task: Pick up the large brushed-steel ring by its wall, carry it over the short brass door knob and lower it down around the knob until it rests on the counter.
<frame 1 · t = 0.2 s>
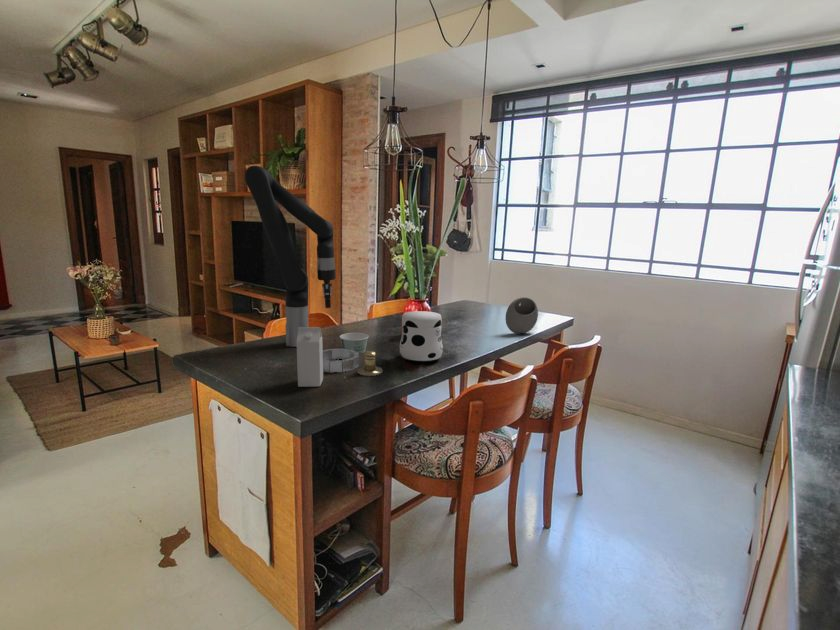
hand: (328, 306, 185), 17 cm above the counter, tool pointing down, fingers open, 8 cm apart
brass door knob: (369, 372, 154), on the counter
steel ring: (336, 365, 161), on the counter
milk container: (420, 359, 171), on the counter
planter: (520, 334, 216), on the counter
food container: (354, 351, 179), on the counter
milk carton: (310, 383, 142), on the counter
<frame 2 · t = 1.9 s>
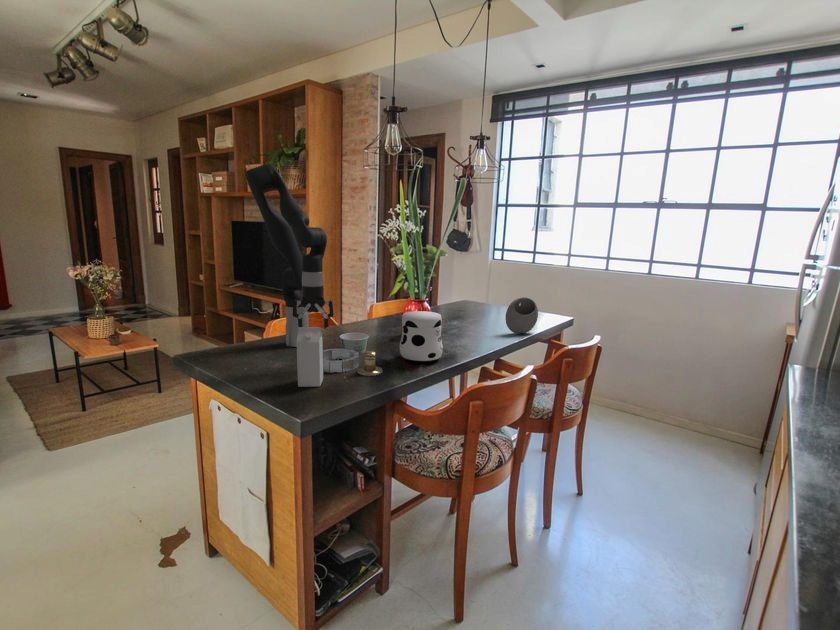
hand: (313, 328, 156), 14 cm above the counter, tool pointing down, fingers open, 8 cm apart
nothing on the counter moved.
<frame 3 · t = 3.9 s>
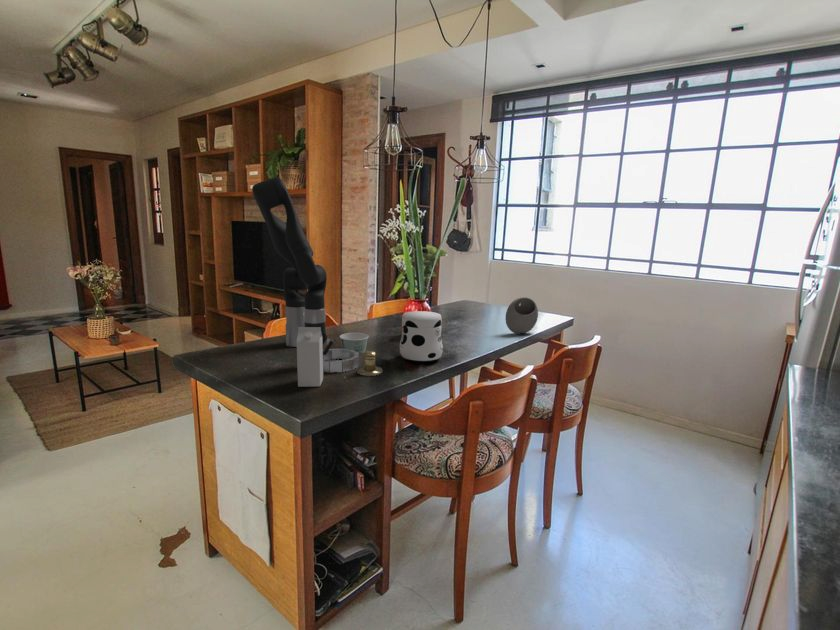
hand: (316, 365, 159), 0 cm above the counter, tool pointing down, fingers closed on steel ring
steel ring: (336, 365, 161), on the counter, touching gripper
everything else where it was.
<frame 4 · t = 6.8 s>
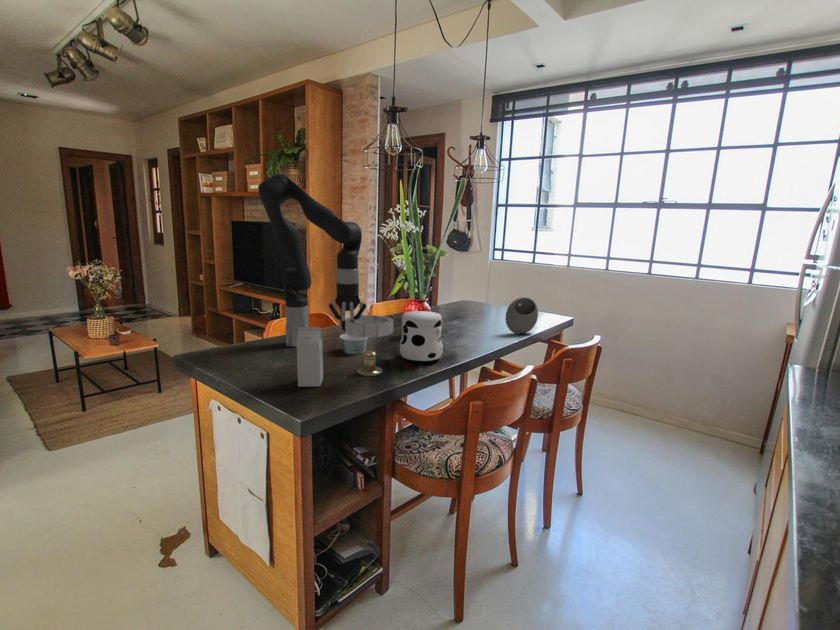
hand: (347, 330, 149), 15 cm above the counter, tool pointing down, fingers closed on steel ring
steel ring: (369, 331, 151), point 15 cm above the counter, touching gripper
everything else where it was.
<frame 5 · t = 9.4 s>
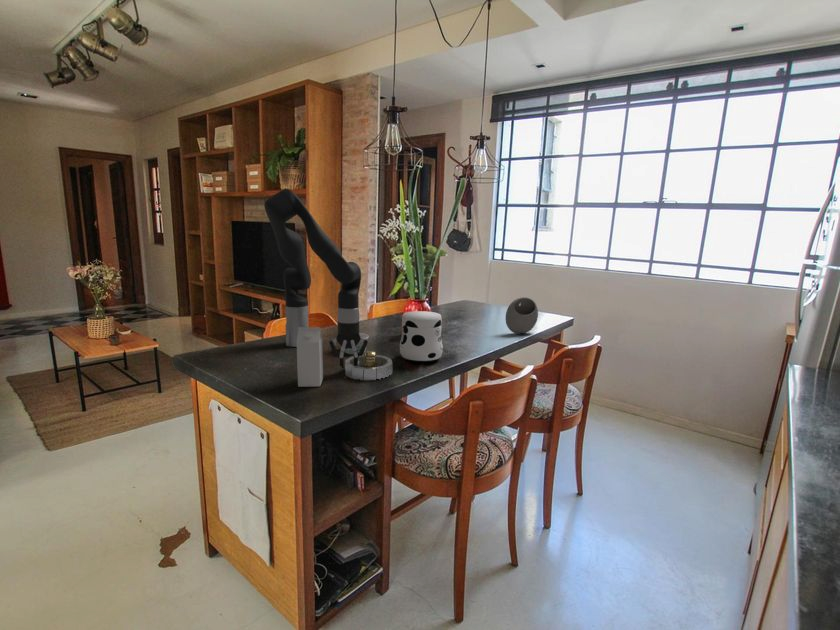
hand: (348, 366, 152), 2 cm above the counter, tool pointing down, fingers open, 3 cm apart
steel ring: (368, 372, 154), on the counter
everything else where it was.
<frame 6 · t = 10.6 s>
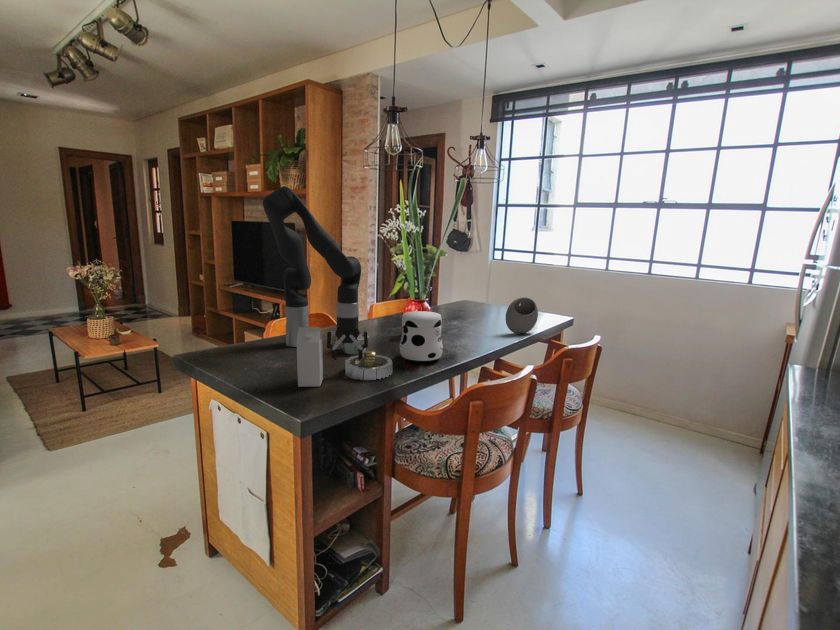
hand: (347, 359, 152), 5 cm above the counter, tool pointing down, fingers open, 8 cm apart
nothing on the counter moved.
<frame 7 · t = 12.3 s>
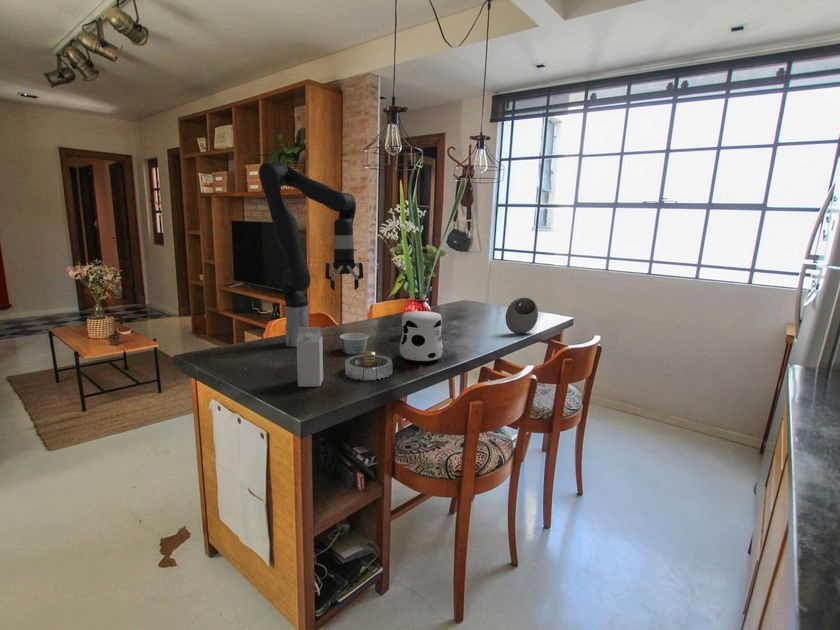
hand: (344, 289, 165), 27 cm above the counter, tool pointing down, fingers open, 8 cm apart
nothing on the counter moved.
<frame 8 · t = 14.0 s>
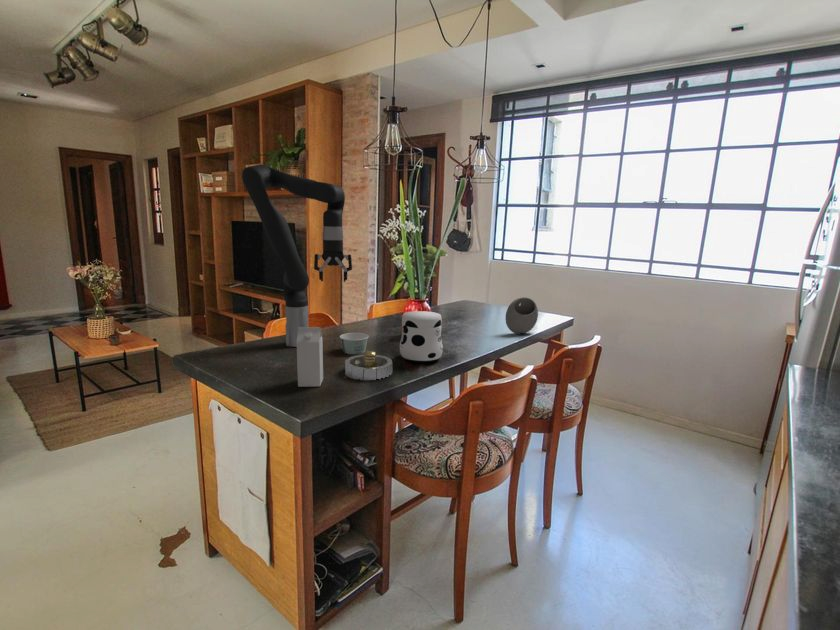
hand: (333, 281, 166), 30 cm above the counter, tool pointing down, fingers open, 8 cm apart
nothing on the counter moved.
at the end: steel ring 0.4 cm from the brass door knob (horizontally); steel ring on the counter; the gripper is holding nothing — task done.
